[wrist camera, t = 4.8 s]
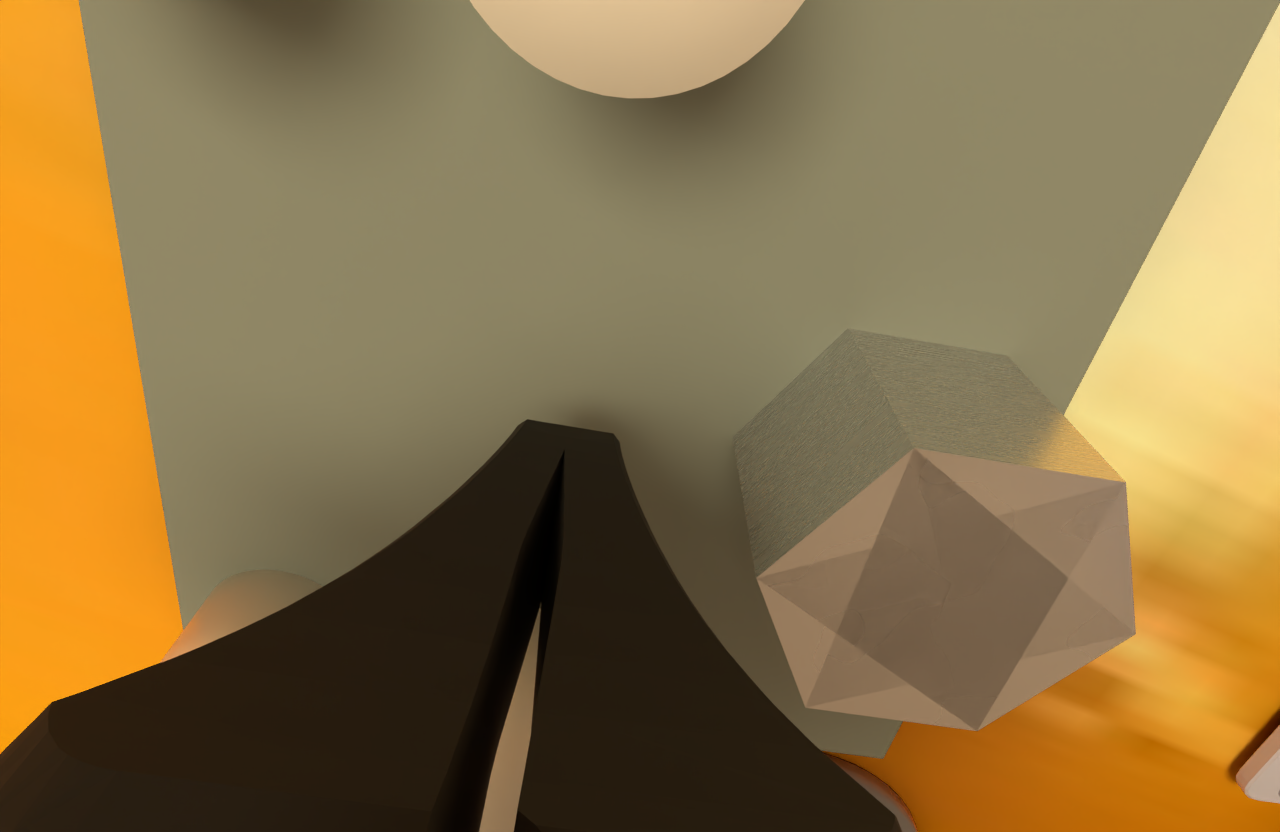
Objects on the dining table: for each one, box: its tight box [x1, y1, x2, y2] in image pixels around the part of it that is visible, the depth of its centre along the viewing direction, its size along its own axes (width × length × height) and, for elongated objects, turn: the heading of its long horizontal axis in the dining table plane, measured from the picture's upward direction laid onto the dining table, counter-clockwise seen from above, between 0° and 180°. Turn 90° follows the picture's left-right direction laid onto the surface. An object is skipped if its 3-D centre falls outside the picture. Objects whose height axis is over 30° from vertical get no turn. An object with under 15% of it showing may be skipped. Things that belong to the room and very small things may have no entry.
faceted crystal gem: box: [733, 328, 1136, 731], centre depth 12 cm, size 5×4×4 cm
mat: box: [79, 0, 1280, 759], centre depth 13 cm, size 15×16×1 cm
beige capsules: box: [160, 0, 805, 832], centre depth 10 cm, size 8×16×4 cm, turn 170°
